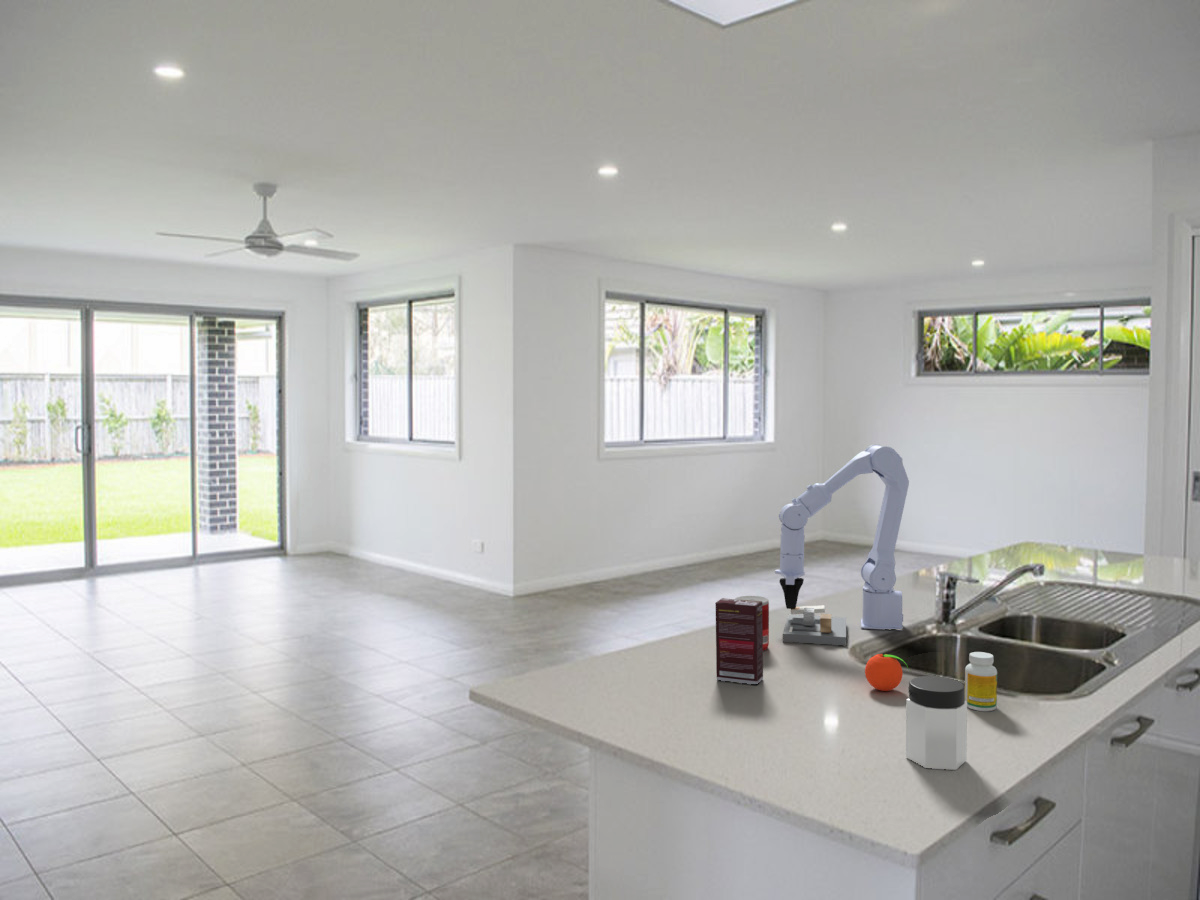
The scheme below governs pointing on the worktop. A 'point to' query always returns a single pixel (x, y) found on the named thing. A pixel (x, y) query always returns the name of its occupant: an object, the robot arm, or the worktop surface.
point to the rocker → (801, 609)
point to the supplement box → (739, 641)
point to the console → (814, 631)
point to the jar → (936, 722)
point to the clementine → (884, 672)
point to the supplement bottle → (981, 682)
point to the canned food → (764, 616)
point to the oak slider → (825, 623)
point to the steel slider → (809, 616)
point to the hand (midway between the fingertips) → (791, 608)
